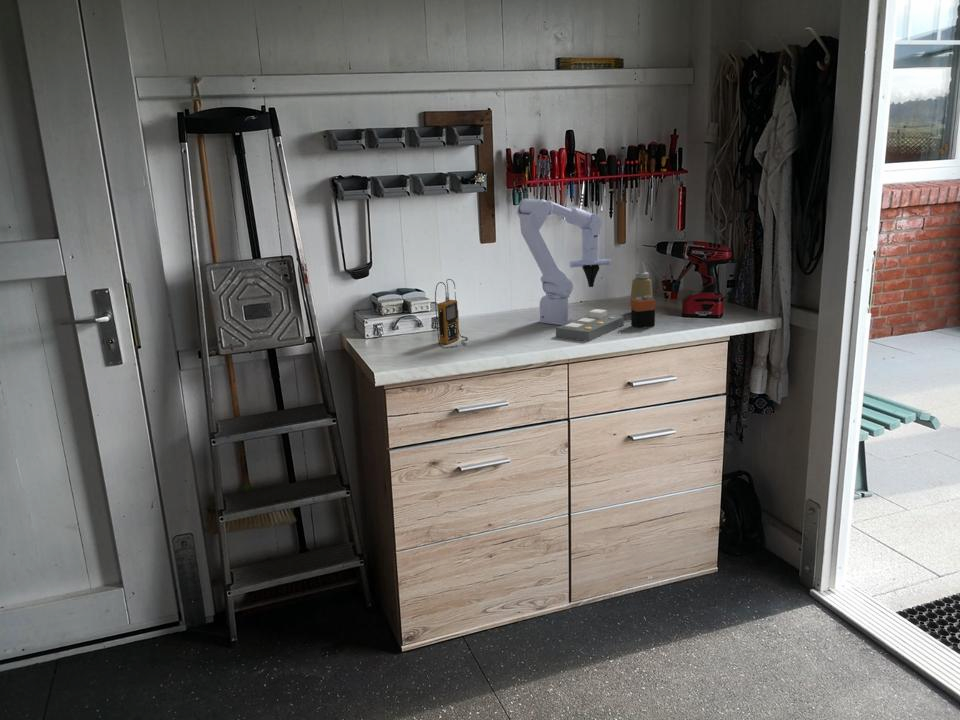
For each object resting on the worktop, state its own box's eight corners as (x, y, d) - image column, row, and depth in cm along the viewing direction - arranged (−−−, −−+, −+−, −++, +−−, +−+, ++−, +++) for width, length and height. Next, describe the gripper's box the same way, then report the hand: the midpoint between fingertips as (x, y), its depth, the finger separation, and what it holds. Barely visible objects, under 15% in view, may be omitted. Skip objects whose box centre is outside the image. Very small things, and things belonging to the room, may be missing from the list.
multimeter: (459, 350, 239) (456, 285, 234) (432, 347, 244) (429, 283, 239) (484, 339, 251) (482, 277, 245) (458, 336, 256) (455, 275, 251)
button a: (564, 334, 250) (564, 325, 249) (571, 331, 254) (571, 322, 253) (576, 336, 248) (576, 327, 247) (583, 333, 251) (583, 324, 250)
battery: (655, 326, 259) (655, 296, 256) (636, 328, 257) (637, 298, 254) (648, 323, 263) (649, 294, 260) (630, 325, 261) (630, 296, 258)
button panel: (555, 336, 250) (555, 327, 249) (591, 321, 269) (591, 312, 268) (588, 341, 243) (588, 331, 243) (623, 325, 262) (623, 315, 261)
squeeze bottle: (635, 309, 284) (636, 260, 279) (656, 311, 280) (657, 261, 275) (625, 313, 278) (626, 263, 273) (647, 316, 273) (648, 265, 269)
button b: (577, 329, 256) (577, 320, 256) (583, 326, 260) (583, 317, 259) (589, 330, 254) (589, 321, 253) (595, 328, 257) (595, 319, 256)
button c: (589, 320, 262) (589, 311, 261) (595, 317, 266) (595, 308, 265) (600, 321, 260) (600, 312, 259) (607, 318, 263) (607, 310, 262)
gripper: (571, 250, 267) (572, 289, 271) (613, 248, 268) (613, 287, 272) (568, 247, 274) (568, 286, 278) (609, 245, 275) (609, 283, 278)
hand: (590, 286), depth 275 cm, fingers closed
